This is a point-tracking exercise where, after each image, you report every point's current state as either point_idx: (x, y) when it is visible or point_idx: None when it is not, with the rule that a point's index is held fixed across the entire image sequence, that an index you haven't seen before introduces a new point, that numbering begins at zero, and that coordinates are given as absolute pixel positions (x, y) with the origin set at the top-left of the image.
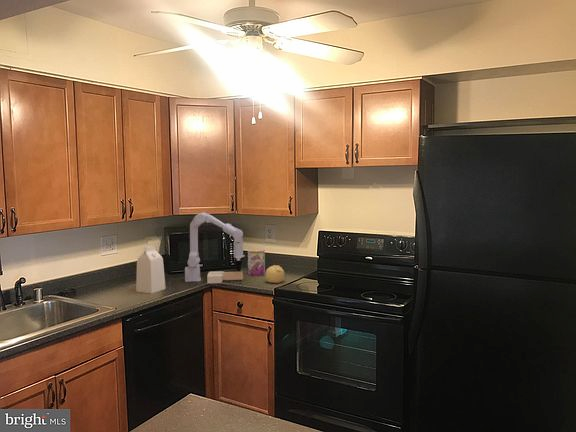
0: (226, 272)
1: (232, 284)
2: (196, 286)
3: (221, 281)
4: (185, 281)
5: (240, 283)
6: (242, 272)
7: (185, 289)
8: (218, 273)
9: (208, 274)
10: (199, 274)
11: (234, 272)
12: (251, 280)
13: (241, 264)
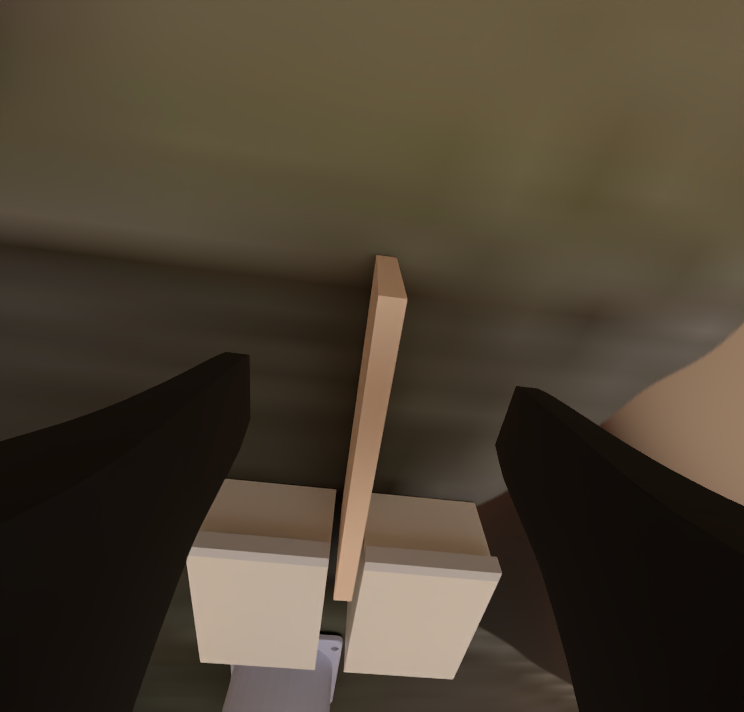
0: (361, 544)
1: (598, 416)
2: (510, 651)
3: (478, 521)
4: (331, 698)
5: (600, 319)
6: (406, 301)
7: (566, 693)
8: (323, 599)
9: (357, 669)
10: (294, 703)
11: (378, 443)
12: (478, 102)
13: (728, 499)
